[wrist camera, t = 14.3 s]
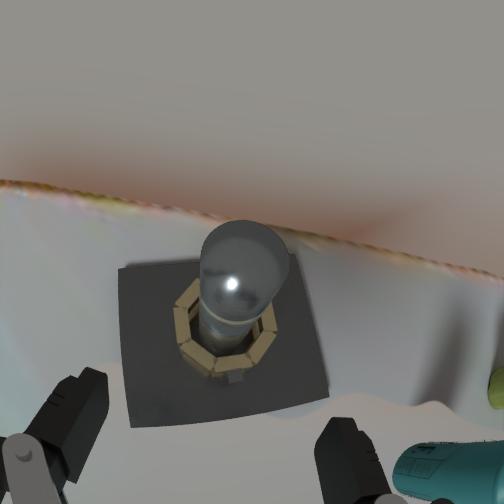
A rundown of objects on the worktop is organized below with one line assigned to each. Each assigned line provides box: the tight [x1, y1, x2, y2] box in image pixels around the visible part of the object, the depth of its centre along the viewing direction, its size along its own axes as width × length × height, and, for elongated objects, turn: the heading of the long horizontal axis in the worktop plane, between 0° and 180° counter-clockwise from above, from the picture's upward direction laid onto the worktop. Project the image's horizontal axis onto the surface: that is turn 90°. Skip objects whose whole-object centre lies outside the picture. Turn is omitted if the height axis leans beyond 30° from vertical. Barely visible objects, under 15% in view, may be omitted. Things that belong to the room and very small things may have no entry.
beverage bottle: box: [392, 440, 504, 504], centre depth 14 cm, size 6×7×20 cm
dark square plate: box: [118, 254, 329, 428], centre depth 24 cm, size 18×15×7 cm
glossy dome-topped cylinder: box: [199, 220, 290, 358], centre depth 19 cm, size 4×4×16 cm
